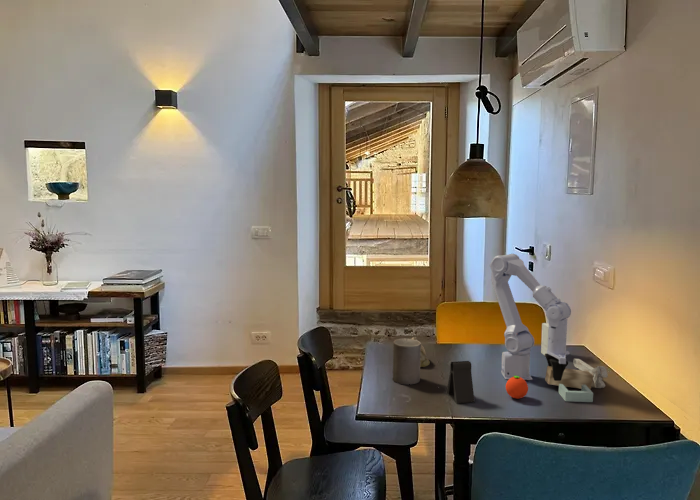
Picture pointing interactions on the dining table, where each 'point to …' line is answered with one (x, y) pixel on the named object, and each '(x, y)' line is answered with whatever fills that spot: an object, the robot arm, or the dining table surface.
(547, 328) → the supplement box
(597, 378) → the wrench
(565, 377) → the tan rectangular block
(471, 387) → the phone stand
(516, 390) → the clementine
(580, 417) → the dining table surface
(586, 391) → the bracket
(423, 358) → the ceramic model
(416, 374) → the pillar candle
